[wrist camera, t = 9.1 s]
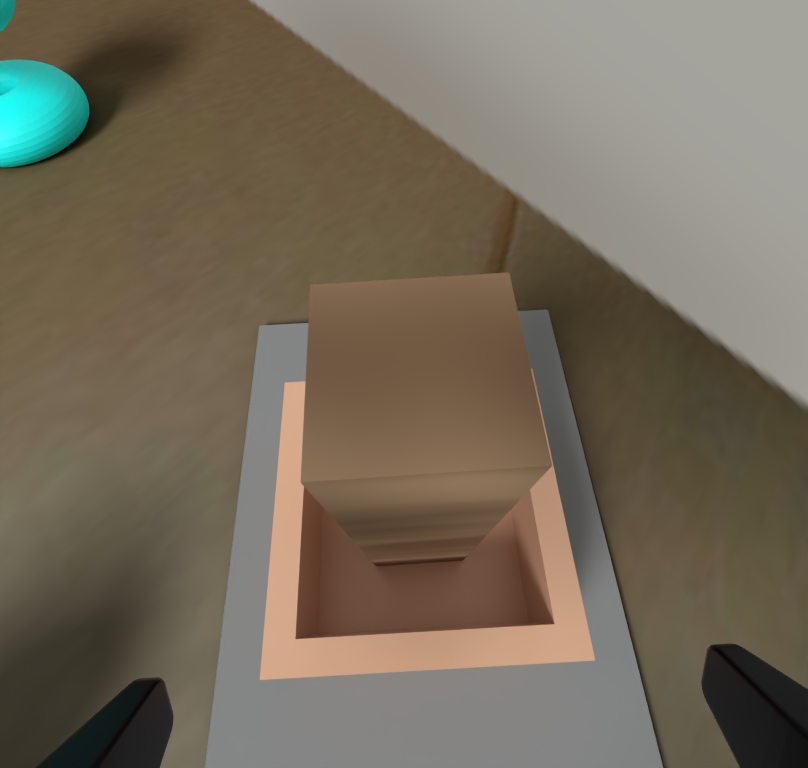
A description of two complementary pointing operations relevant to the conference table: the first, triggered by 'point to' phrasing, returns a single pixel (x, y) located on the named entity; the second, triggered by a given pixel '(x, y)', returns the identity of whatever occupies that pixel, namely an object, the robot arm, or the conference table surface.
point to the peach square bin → (415, 588)
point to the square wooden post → (419, 413)
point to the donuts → (36, 107)
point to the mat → (429, 689)
